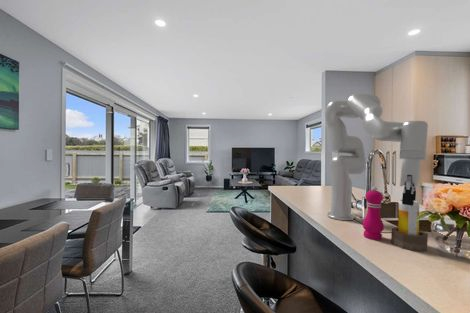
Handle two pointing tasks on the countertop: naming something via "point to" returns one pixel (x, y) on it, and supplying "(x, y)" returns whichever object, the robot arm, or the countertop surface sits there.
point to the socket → (409, 240)
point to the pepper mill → (373, 215)
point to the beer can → (408, 218)
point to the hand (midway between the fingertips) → (408, 202)
